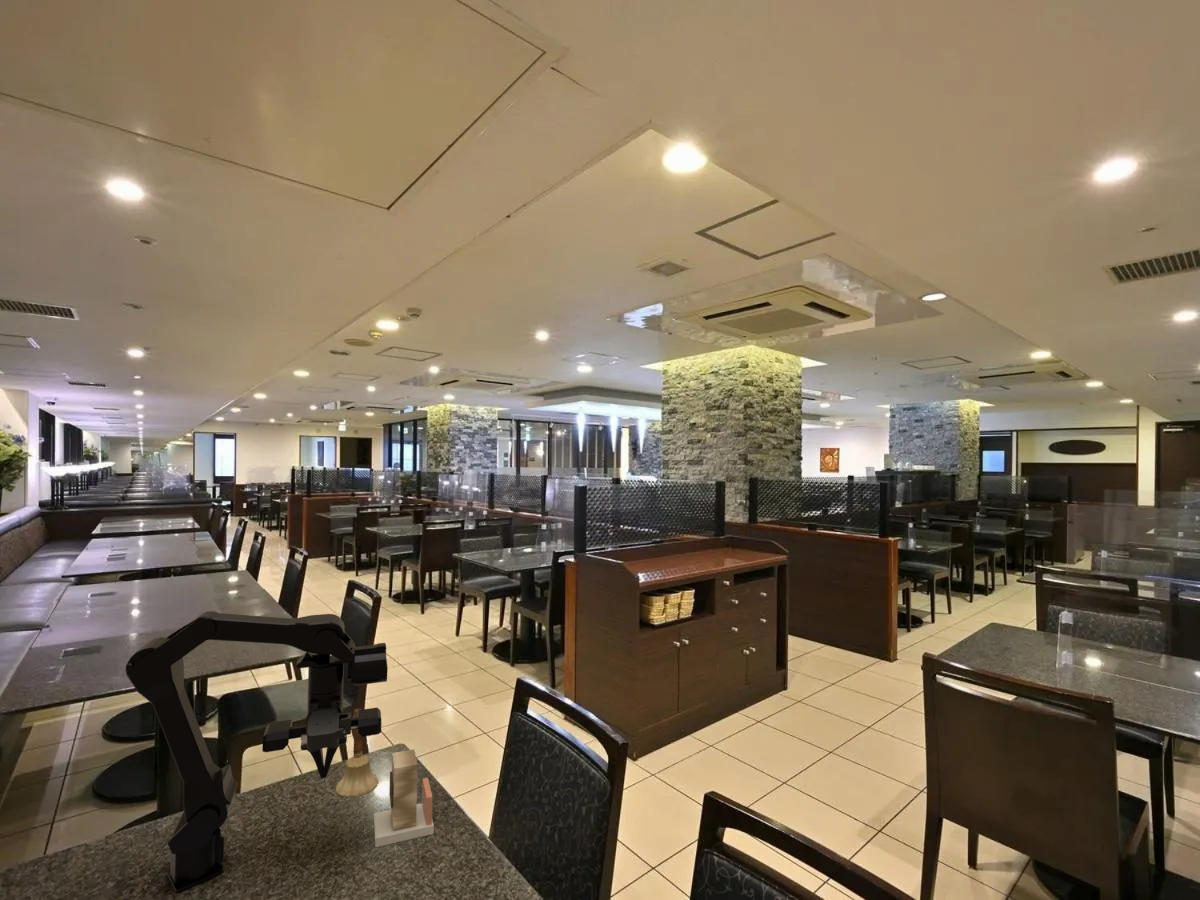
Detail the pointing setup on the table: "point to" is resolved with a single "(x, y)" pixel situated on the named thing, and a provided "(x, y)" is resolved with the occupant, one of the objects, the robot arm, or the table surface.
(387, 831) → the base
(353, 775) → the hand bell
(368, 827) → the table surface
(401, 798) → the tan tall block
